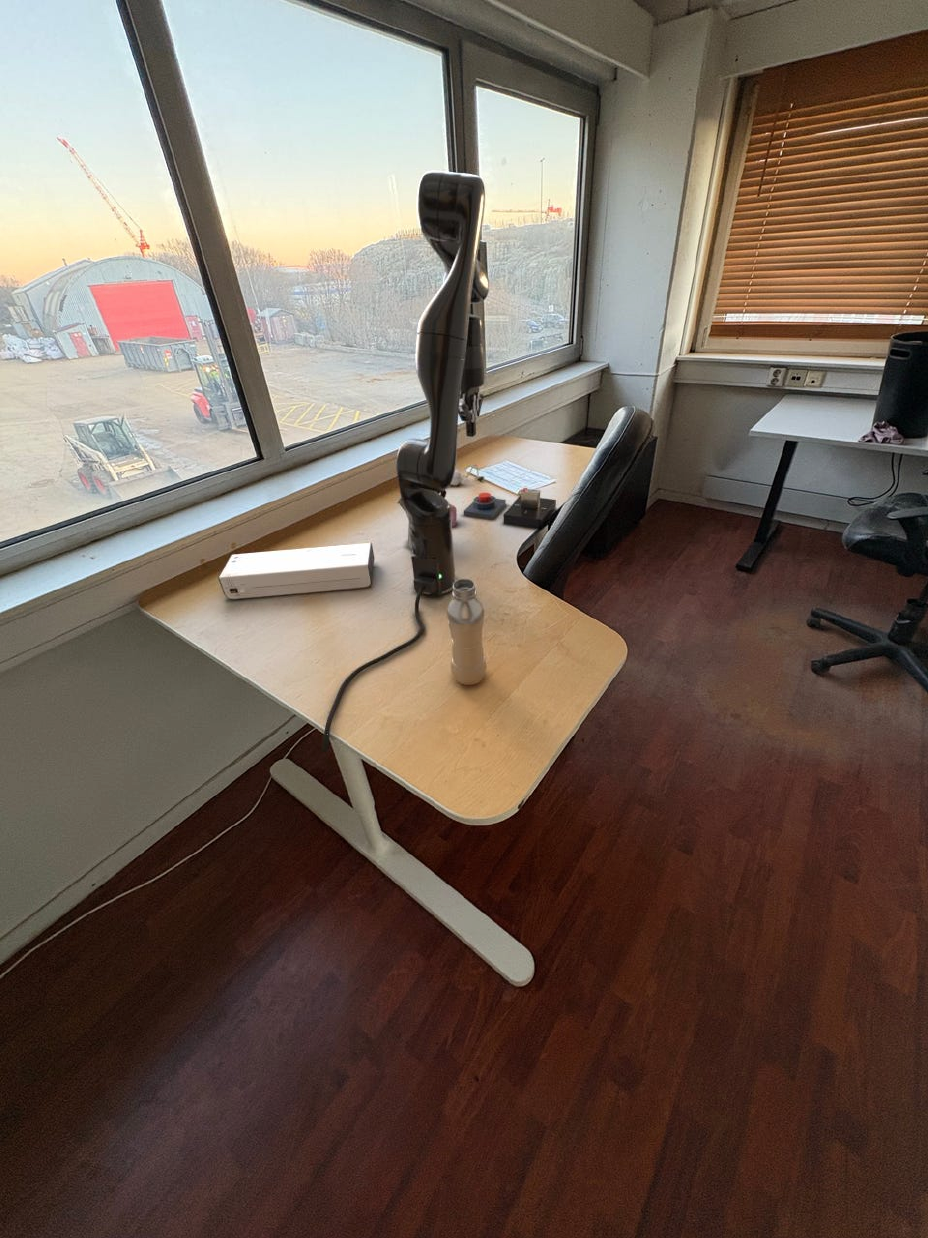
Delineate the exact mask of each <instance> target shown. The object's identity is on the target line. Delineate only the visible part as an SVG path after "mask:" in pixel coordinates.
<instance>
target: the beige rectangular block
mask: <svg viewBox="0 0 928 1238" xmlns="http://www.w3.org/2000/svg"><path fill="white" fill-rule="evenodd" d="M520 496H521V507H523V508H530V509H538V508H539V507H540V498H541V490H539V489H531V488H528V487H523V488H522V489H521V491H520Z"/></svg>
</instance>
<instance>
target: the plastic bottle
mask: <svg viewBox="0 0 928 1238" xmlns="http://www.w3.org/2000/svg"><path fill="white" fill-rule="evenodd" d="M446 620H447V623H448V627H449V630H450V635H451V636H450V637H451V644H452V646H451V647H452V648H451V649H452V651H451V660H450V670H451V674H452V676H453V678H454V679H455V680H456V681H457V682H458V683H460V684H461V685H464V686H465V685H466V686H472V685H476V684H478V683H479V682H481V681H482V680H483V679H484V678H485V676H486V674H487V666H488V665H487V660H486V656H485V653H484V646H483V629H484V622H485V607H484V605H483V603H482V602H481V601H480V600H479V598H477V591H476V583H475V582H474V580H472V579H469V578H460V579H456V581H455V582H454V583H453V590H452V599H451V601H450V602H449V604H448V606H447V608H446Z"/></svg>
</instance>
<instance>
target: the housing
mask: <svg viewBox="0 0 928 1238" xmlns="http://www.w3.org/2000/svg"><path fill="white" fill-rule="evenodd" d="M506 505H507V501H506V499H502V498H501V499H500V498H496V497H495V496H493V495H491V501H490V502H479V495H478V496H475V497H474V498H473V500H472V502H471V503H470V504H469V505H468V506H467V507H466V508H464V510H463V517H469V518H476V519H483V520H490V521H493V520H494V519H495V518H496V517H497V515H498V514H499V513H500V512H501V511H502V510H503V509H504V507H506Z"/></svg>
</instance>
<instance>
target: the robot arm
mask: <svg viewBox="0 0 928 1238" xmlns="http://www.w3.org/2000/svg"><path fill="white" fill-rule="evenodd" d="M485 208H486V188H485V183H484V181H483V179H482V178H481V176H479V175H476V174H470V173H462V172H452V171H444V170H430V171H429V170H428V171H427V172H425V173H423V175H422V176H421V178H420V181H419V184H418V188H417V195H416V217H417V222H418V227H419V229H420V232H421V234H422V235H423V237H424V239H425V240H426V241H427V243H428V244H429V245H430V247H431V249H432V250H433V251H434V252H435V254H436V255H437V257H439V259H440V261H441V263H442V265H443V268H444V271H445V272H444V274H443V277H442V285H441V287H440V288H439V289H438V291H437V292H436V293H435V295H434V296H433V297H432V299H431V300H430V302H429V303H428V304H427V306H426V308H425V309H424V310H423V313H422V314H421V317H420V318H419V321H418V323H417V329H416V341H415V351H414V367H415V371H416V375H417V378H418V382H419V385H420V387H421V389H422V392H423V395H424V398H425V400H426V404H427V406H428V407H427V408H428V412H429V420H430V422H429V423H430V425H429V440H426V439H420V438H409V439H406V440H405V441H403V442H402V444H401V445H400V446H399V448H398V451H397V453H396V458H395V459H396V461H395V469H396V476H397V483H398V487H399V488H398V489H399V493H400V499H402V504H403V507H404V509H405V511H406V512H407V515H408V517H407V522H408V524H409V530H410V538H411V546H412V550H411V554H412V555H411V557H410V558H411V564H412V565H411V567H412V575H413V588H414V589H413V590H414V591H415V593H417V594H416V597H415V601H414V617H415V620H416V622H417V624H418V627H419V629H418V632H417V633H416V634H415V636H414V637H412V638H411V639H409V640H408V641H406V642H404V643H403V644H401V645H398V646H396V647H394V648H393V649H391V650H389V651H387V652H386V653H384V654H382V655H380V656H378V657H376V658H374V659H372V660H370V661H367V662H366V663H364V664H362V665H361V666H359V667H358V668H356V669H355V670H354V671H352V672H351V673H350V674H349V675H348V676H347V677H346V679H344V681H343V682H342V684H341V686H340V687H339V689H338V692H337V694H336V697H335V699H334V701H333V704H332V706H331V708H330V711H329V713H328V716H327V719H326V722H325V726H324V732H323V740H322V748H321V750H322V751H323V752H325V751H327V750H328V748H329V742H330V741H329V740H330V734H331V728H332V724H333V720H334V717H335V714H336V712H337V709H338V707H339V705H340V703H341V700H342V697H343V695H344V693H345V691H346V688H347V687H348V685H349V684H350V682H351V681H352V680H353V679H354V678H355V677H356V676H358V674H360V673H361V672H363V671H364V670H366V669H368V668H370V667H371V666H374V665H376V664H378V663H380V662H383V661H385V660H386V659H387V658H389V657H391V656H393V655H394V654H396V653H398V652H400V651H402V650H404V649H407V648H408V647H409V646H412V645H413V644H414V643H416V642H417V641H418V640H420V638H421V636H422V635H423V633H424V629H425V626H424V623H423V621H422V619H421V615H420V600H421V597H422V595H426V596H432V597H436V598H440V597H441V596H442V595H445V594H448V593H450V592H453V583H454V582H455V581H457V578H456V567H455V566H456V565H455V552H454V540H453V526H452V523H451V509H450V504H451V503H450V502H449V501H448V500H447V499H446V497H445V498H443V497H442V496H441V495H440V493H439V494H438V493H437V492H436V491H439V492H441V491H444V490H445V491H446V490H447V489H449V488H450V486H451V482H452V480H453V477H454V474H455V469H456V467H457V459H458V430H459V428H458V426H459V418H460V420H461V422H465V433H466V435H465V436H467V437H469V438H473V437H475V436H476V435H477V422H476V421H477V420H478V417H480V414H481V409H482V406H483V401H484V394H483V393H480V387H482V386H483V385H484V384H485V358H484V357H485V356H484V355H485V354H484V348H483V347H484V346H483V323H482V322H483V321H482V319H481V317H480V316H478V315H474V314H470V311H471V309H470V308H471V304H480V303H483V302H484V301H485V300H487V299H486V298H487V297H488V295H489V292H490V279H489V275H488V272H487V270H486V268H485V266H484V265H483V264H482V262H480V261H479V260H478V252H479V247H480V242H481V234H482V229H483V222H484V216H485ZM449 503H450V504H449ZM404 509H403V510H404ZM405 511H404V512H405ZM406 512H405V513H406ZM407 515H406V516H407ZM327 734H328V735H327ZM351 868H352V869H353V870H355V869H357V866H352V867H351Z"/></svg>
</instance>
